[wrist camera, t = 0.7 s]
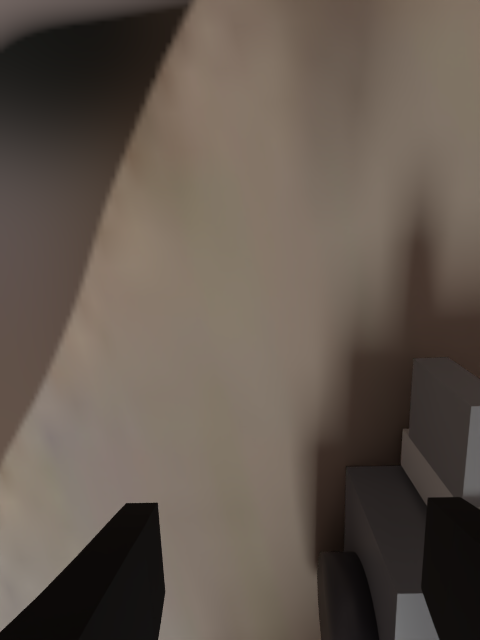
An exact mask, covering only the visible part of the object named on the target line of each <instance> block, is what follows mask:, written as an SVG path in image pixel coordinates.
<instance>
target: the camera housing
mask: <svg viewBox="0 0 480 640" xmlns="http://www.w3.org/2000/svg"><path fill="white" fill-rule="evenodd" d="M426 513H427V505H426V504H425V502H424V501H423V499H422V497H421V496H420V494H419V493H418V491H417V490H416V488H415V486H414V485H413V483H412V482H411V480H410V478H409V477H408V475H407V474H406V472H405V470H404V469H403V467H402V466H360V467H346V493H345V532H344V552H320V554H319V558H318V570H317V585H318V607H319V620H320V631H321V640H439V638H438V635H437V632H436V629H435V627H434V624H433V621H432V619H431V616H430V613H429V610H428V607H427V604H426V601H425V598H424V595H423V592H422V590H421V580H422V566H423V553H424V540H425V526H426Z"/></svg>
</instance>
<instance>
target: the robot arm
mask: <svg viewBox="0 0 480 640" xmlns="http://www.w3.org/2000/svg"><path fill="white" fill-rule="evenodd" d="M421 590H422V592H423V595H424V598H425V601H426V604H427V607H428V610H429V613H430V616H431V619H432V621H433V624H434V627H435V629H436V632H437V635H438V638H439V640H480V509H478V508H477V507H475V506H474V505H472V504H471V503H469V502H468V501H466V500H464V499H463V498H461V497H428V499H427V513H426V526H425V540H424V553H423V566H422V580H421ZM164 597H165V583H164V571H163V560H162V548H161V536H160V525H159V513H158V503H126V504H125V505H124V506H123V507H122V508H121V509H120V510H119V511H118V512H117V513H116V515H115V516H114V517H113V518H112V519H111V520H110V521H109V522H108V523H107V524H106V525H105V526H104V527H103V529H102V530H101V531H100V532H99V533H98V534H97V535H96V536H95V537H94V538H93V539H92V540H91V542H90V543H89V544H88V545H87V546H86V547H85V548H84V549H83V550H82V551H81V552H80V553H79V554H78V556H77V557H76V558H75V559H74V560H73V561H72V562H71V563H70V564H69V565H68V566H67V567H66V568H65V569H64V570H63V571H62V572H61V573H60V574H59V575H58V576H57V577H56V578H55V579H54V580H53V581H52V582H51V583H50V584H49V586H48V587H47V588H46V589H45V590H44V591H43V592H42V593H41V594H40V595H39V596H38V597H37V598H36V599H35V600H34V601H33V602H31V603H30V604H29V605H28V606H27V607H26V608H25V609H24V610H23V611H22V612H21V613H20V614H19V615H18V616H17V617H16V618H15V619H14V620H13V621H12V622H10V623H9V624H8V625H7V626H6V627H5V628H4V629H3V630H2V631H1V632H0V640H158V636H159V630H160V624H161V617H162V610H163V604H164Z"/></svg>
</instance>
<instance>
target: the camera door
mask: <svg viewBox="0 0 480 640" xmlns="http://www.w3.org/2000/svg"><path fill="white" fill-rule="evenodd" d="M401 466H402V467H403V469H404V470H405V472H406V474H407V475H408V477H409V478H410V480H411V482H412V483H413V485H414V486H415V488H416V490H417V491H418V493H419V494H420V496H421V497H422V499H423V501H424V502H425V504H426V505H427V499H428V497H461V498H463V499H464V500H466V501H468V502H469V503H471V504H472V505H474V506H475V507H477V508H478V509H480V379H479V378H478V377H476V376H475V375H473V374H472V373H470V372H469V371H467V370H466V369H464V368H463V367H461V366H460V365H459V364H457V363H456V362H454V361H453V360H451V359H450V358H448V357H440V358H413V372H412V388H411V405H410V421H409V429H403V434H402V451H401Z"/></svg>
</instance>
